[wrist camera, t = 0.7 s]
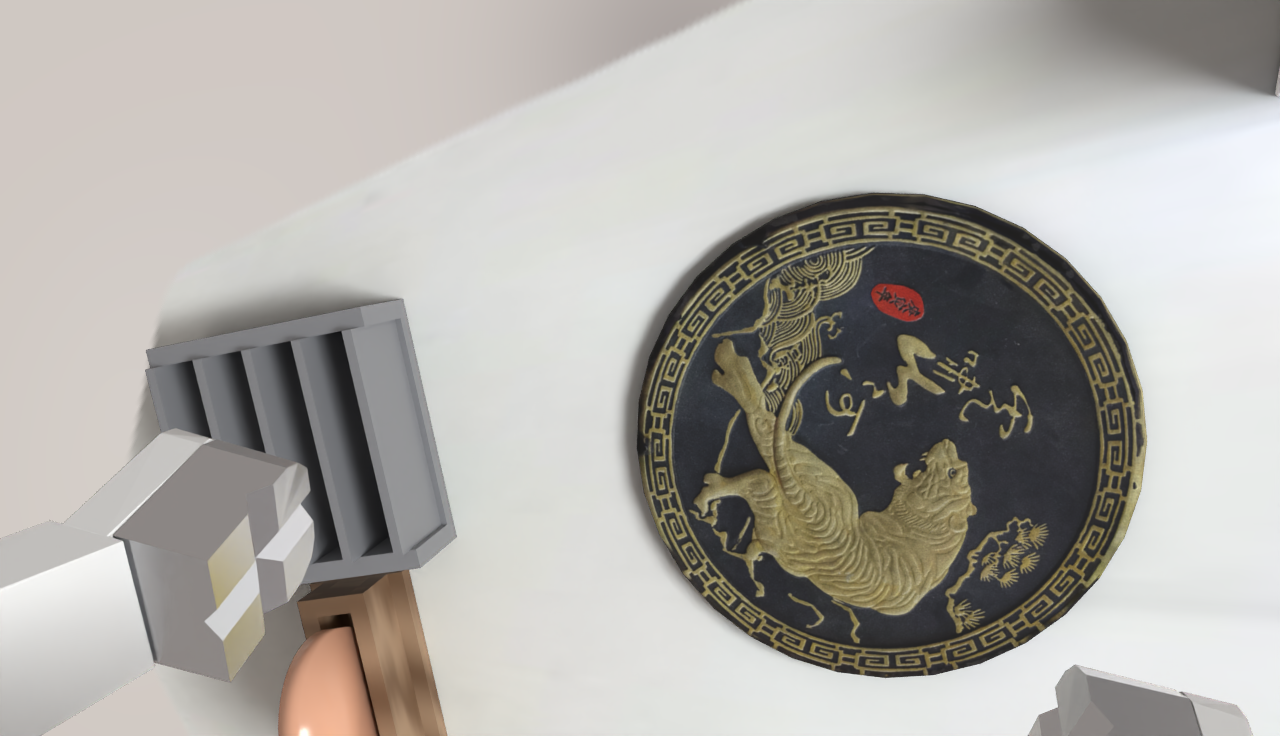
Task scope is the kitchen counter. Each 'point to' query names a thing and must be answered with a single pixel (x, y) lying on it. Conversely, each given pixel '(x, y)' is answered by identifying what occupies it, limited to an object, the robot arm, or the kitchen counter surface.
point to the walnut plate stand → (383, 646)
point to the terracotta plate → (327, 689)
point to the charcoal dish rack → (324, 427)
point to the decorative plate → (891, 435)
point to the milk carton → (1278, 85)
